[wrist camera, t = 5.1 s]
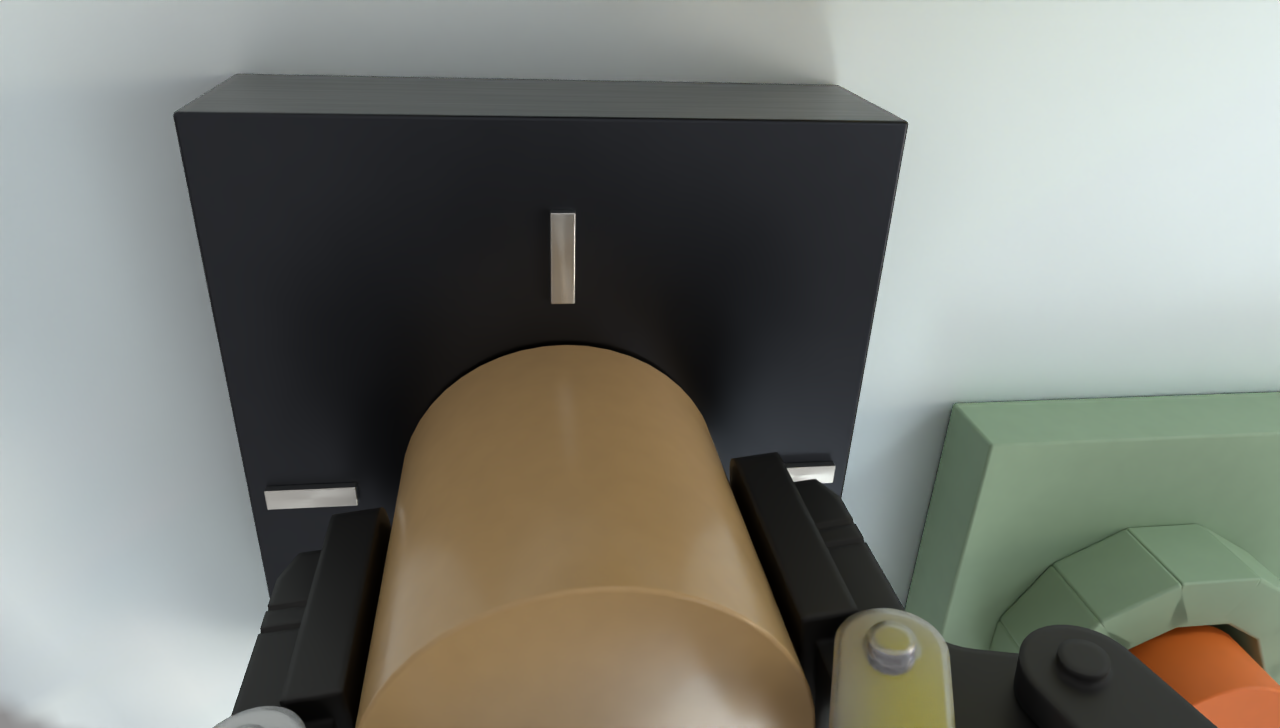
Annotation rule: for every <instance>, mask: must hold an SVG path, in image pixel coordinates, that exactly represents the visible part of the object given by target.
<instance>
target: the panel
mask: <svg viewBox="0 0 1280 728" xmlns="http://www.w3.org/2000/svg"><path fill="white" fill-rule="evenodd" d="M173 117H174V122H175V127H176V132H177V137H178V142H179V147H180V152H181V157H182V162H183V167H184V172H185V177H186V182H187V187H188V192H189V197H190V202H191V207H192V212H193V217H194V222H195V227H196V232H197V237H198V242H199V247H200V252H201V257H202V262H203V267H204V272H205V277H206V282H207V287H208V292H209V297H210V302H211V307H212V312H213V317H214V322H215V327H216V332H217V337H218V342H219V347H220V352H221V357H222V362H223V367H224V372H225V377H226V382H227V387H228V392H229V397H230V402H231V407H232V412H233V417H234V422H235V427H236V432H237V437H238V442H239V447H240V452H241V457H242V462H243V467H244V472H245V477H246V482H247V487H248V492H249V497H250V502H251V507H252V512H253V517H254V522H255V526H256V531H257V536H258V541H259V546H260V551H261V556H262V561H263V566H264V571H265V576H266V581H267V586H268V591H269V596H270V598H271V595H272V592H273V589H274V586H275V583H276V580H277V578H278V577H279V576H280V575H281V574H282V572H283V571H284V570H285V569H286V568H287V567H288V565H289V564H290V563H291V562H292V561H293V560H294V558H295V557H296V556H297V555H298V554H299V553H303V552H310V551H316V550H322V546H323V543H324V539H325V535H326V532H327V528H328V525H329V521H330V518H331V516H332V515H333V514H338V513H345V512H352V511H359V510H366V509H373V508H380V507H383V508H384V509H385V510H386V512H387V514H388V517H389V521H390V524H391V528H392V523H393V518H394V512H395V507H396V501H397V496H398V490H399V485H400V479H401V474H402V468H403V463H404V457H405V453H406V450H407V447H408V444H409V441H410V439H411V436H412V434H413V432H414V431H415V429H416V427H417V425H418V423H419V421H420V420H421V418H422V417H423V415H424V414H425V413H426V411H427V410H428V408H429V407H430V406H431V404H432V403H433V402H434V401H435V400H436V399H437V398H438V397H439V396H440V395H441V394H442V393H443V392H444V391H445V390H446V389H447V388H449V387H450V386H451V385H452V384H454V383H455V382H456V381H458V380H459V379H460V378H461V377H463V376H465V375H466V374H468V373H469V372H471V371H473V370H474V369H476V368H478V367H479V366H481V365H483V364H486V363H488V362H490V361H492V360H495V359H497V358H499V357H502V356H505V355H508V354H511V353H515V352H518V351H521V350H526V349H532V348H537V347H543V346H556V345H578V346H591V347H596V348H602V349H608V350H612V351H615V352H618V353H622V354H625V355H628V356H631V357H633V358H635V359H638V360H640V361H642V362H644V363H646V364H649V365H650V366H652V367H654V368H655V369H657V370H658V371H660V372H662V373H663V374H665V375H666V376H667V377H669V378H670V379H671V380H672V381H673V382H675V383H676V384H677V385H678V386H679V387H681V389H682V390H683V391H684V392H685V393H686V394H687V395H688V396H689V397H690V399H691V400H692V401H693V402H694V404H695V405H696V407H697V408H698V410H699V411H700V413H701V414H702V416H703V418H704V420H705V423H706V425H707V427H708V429H709V431H710V434H711V436H712V439H713V442H714V444H715V447H716V449H717V452H718V454H719V457H720V459H721V462H722V464H723V467H724V470H725V472H726V475H727V477H728V480H729V482H730V473H729V468H730V460H731V458H738V457H745V456H752V455H759V454H766V453H773V452H777V453H779V454H780V456H781V458H782V460H783V462H784V464H785V466H786V468H787V470H788V472H789V474H790V476H791V478H792V480H793V482H796V481H803V480H810V479H817V480H818V481H819V482H821V483H822V484H823V485H825V486H826V487H828V488H829V489H830V490H832V491H833V492H834V493H836V494H837V495H838V496H840V498H841V497H842V491H843V486H844V480H845V475H846V469H847V463H848V458H849V452H850V447H851V441H852V435H853V430H854V424H855V419H856V413H857V407H858V402H859V396H860V391H861V385H862V379H863V374H864V368H865V363H866V357H867V351H868V346H869V340H870V335H871V329H872V323H873V318H874V312H875V307H876V301H877V296H878V290H879V284H880V279H881V273H882V268H883V262H884V256H885V251H886V245H887V240H888V234H889V228H890V223H891V217H892V212H893V206H894V200H895V195H896V189H897V184H898V178H899V172H900V167H901V161H902V156H903V150H904V144H905V139H906V133H907V128H908V122H907V121H905V120H903V119H901V118H899V117H897V116H895V115H893V114H892V113H890V112H888V111H886V110H884V109H882V108H880V107H878V106H876V105H875V104H873V103H871V102H869V101H867V100H865V99H863V98H861V97H859V96H858V95H856V94H854V93H852V92H850V91H848V90H846V89H844V88H842V87H840V86H839V85H804V84H750V83H697V82H644V81H591V80H538V79H484V78H431V77H378V76H325V75H271V74H236V75H234V76H232V77H231V78H229V79H227V80H226V81H224V82H222V83H221V84H219V85H218V86H216V87H214V88H213V89H211V90H210V91H208V92H206V93H205V94H203V95H201V96H200V97H198V98H197V99H195V100H193V101H192V102H190V103H188V104H187V105H185V106H184V107H182V108H180V109H179V110H177V111H175V112H174V114H173Z"/></svg>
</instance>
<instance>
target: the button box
mask: <svg viewBox="0 0 1280 728" xmlns="http://www.w3.org/2000/svg"><path fill="white" fill-rule="evenodd" d="M905 611H906V612H909V613H911V614H914V615H916V616H918V617H920V618H922V619H924V620H925V621H927V622H928V623H930V624H931V625H932V626H933V627H935V629H936V630H937V631H938V632H939V633H940V634H941V635H942V637H943V638H944V640H945V642H948V643H950V644H953V645H957V646H961V647H965V648H972V649H980V650H990V651H999V652H1009V653H1019V650H1020V646H1021V644H1022V641H1023V640H1024V639H1025V638H1026V636H1027V635H1029V634H1030V633H1031V632H1032V631H1035V630H1037V629H1039V628H1042V627H1045V626H1050V625H1074V626H1080V627H1084V628H1088V629H1091V630H1094V631H1097V632H1100V633H1102V634H1104V635H1106V636H1108V637H1110V638H1112V639H1113V640H1115V641H1117V642H1118V643H1120V644H1121V645H1122V646H1124V647H1125V648H1126V649H1128V650H1129V649H1131V648H1133V647H1135V646H1137V645H1140V644H1142V643H1144V642H1146V641H1148V640H1150V639H1153V638H1155V637H1157V636H1159V635H1161V634H1163V633H1166V632H1168V631H1170V630H1172V629H1174V628H1178V627H1191V626H1204V625H1208V626H1213V627H1215V628H1218V629H1220V630H1222V631H1224V632H1226V633H1227V634H1229V635H1230V636H1231V637H1232V638H1233V639H1234V640H1235V641H1236V642H1237V643H1238V644H1239V645H1240V646H1241V647H1242V648H1243V649H1244V650H1245V651H1246V652H1247V653H1248V654H1249V655H1250V656H1251V657H1252V658H1253V659H1254V660H1255V661H1256V662H1257V663H1258V664H1259V665H1260V666H1261V667H1262V668H1263V669H1264V670H1265V671H1266V672H1267V673H1268V674H1269V675H1270V676H1271V677H1272V678H1273V679H1274V680H1275V681H1276V682H1277V683H1278V684H1279V685H1280V392H1262V393H1234V394H1205V395H1177V396H1149V397H1120V398H1092V399H1063V400H1035V401H1007V402H978V403H955V404H954V405H953V408H952V412H951V416H950V421H949V425H948V429H947V433H946V438H945V442H944V446H943V450H942V454H941V459H940V463H939V467H938V471H937V476H936V480H935V484H934V488H933V493H932V497H931V501H930V505H929V509H928V514H927V518H926V522H925V526H924V531H923V535H922V539H921V543H920V548H919V552H918V556H917V560H916V564H915V569H914V573H913V577H912V581H911V586H910V590H909V594H908V598H907V603H906V607H905Z"/></svg>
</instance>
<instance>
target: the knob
mask: <svg viewBox="0 0 1280 728" xmlns="http://www.w3.org/2000/svg"><path fill="white" fill-rule="evenodd" d="M355 728H816V720H815V706H814V702H813V698H812V694H811V690H810V686H809V684H808V681H807V678H806V676H805V673H804V671H803V668H802V666H801V663H800V661H799V658H798V656H797V653H796V650H795V648H794V645H793V643H792V640H791V638H790V635H789V633H788V630H787V628H786V625H785V622H784V620H783V617H782V615H781V612H780V610H779V607H778V605H777V602H776V599H775V597H774V594H773V592H772V589H771V587H770V584H769V582H768V579H767V577H766V574H765V571H764V569H763V566H762V564H761V561H760V559H759V556H758V554H757V551H756V549H755V546H754V543H753V541H752V538H751V536H750V533H749V531H748V528H747V526H746V523H745V521H744V518H743V515H742V513H741V510H740V508H739V505H738V503H737V500H736V498H735V495H734V492H733V490H732V487H731V485H730V482H729V480H728V477H727V475H726V472H725V470H724V467H723V464H722V462H721V459H720V457H719V454H718V452H717V449H716V447H715V444H714V442H713V439H712V436H711V434H710V431H709V429H708V427H707V425H706V423H705V420H704V418H703V416H702V414H701V413H700V411H699V410H698V408H697V407H696V405H695V404H694V402H693V401H692V400H691V399H690V397H689V396H688V395H687V394H686V393H685V392H684V391H683V390H682V389H681V387H679V386H678V385H677V384H676V383H675V382H673V381H672V380H671V379H670V378H669V377H667V376H666V375H665V374H663V373H662V372H660V371H658V370H657V369H655V368H654V367H652V366H650V365H649V364H646V363H644V362H642V361H640V360H638V359H635V358H633V357H631V356H628V355H625V354H622V353H618V352H615V351H612V350H608V349H602V348H596V347H591V346H578V345H556V346H543V347H537V348H532V349H526V350H521V351H518V352H515V353H511V354H508V355H505V356H502V357H499V358H497V359H495V360H492V361H490V362H488V363H486V364H483V365H481V366H479V367H478V368H476V369H474V370H473V371H471V372H469V373H468V374H466V375H465V376H463V377H461V378H460V379H459V380H458V381H456V382H455V383H454V384H452V385H451V386H450V387H449V388H447V389H446V390H445V391H444V392H443V393H442V394H441V395H440V396H439V397H438V398H437V399H436V400H435V401H434V402H433V403H432V404H431V406H430V407H429V408H428V410H427V411H426V413H425V414H424V415H423V417H422V418H421V420H420V421H419V423H418V425H417V427H416V429H415V431H414V432H413V434H412V436H411V439H410V441H409V444H408V447H407V450H406V453H405V457H404V463H403V468H402V474H401V479H400V485H399V490H398V496H397V501H396V507H395V512H394V518H393V523H392V529H391V534H390V540H389V545H388V551H387V556H386V562H385V567H384V573H383V578H382V584H381V589H380V595H379V600H378V606H377V611H376V617H375V622H374V628H373V633H372V639H371V644H370V650H369V655H368V661H367V666H366V672H365V677H364V683H363V688H362V693H361V699H360V704H359V710H358V715H357V721H356V726H355Z"/></svg>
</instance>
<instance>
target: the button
mask: <svg viewBox="0 0 1280 728" xmlns="http://www.w3.org/2000/svg"><path fill="white" fill-rule="evenodd" d="M1129 651H1130V652H1131V653H1132V654H1133V655H1134V656H1136V657H1137V658H1138V659H1139V660H1140V661H1141V662H1143V663H1144V664H1145V665H1146V666H1147V667H1148V668H1150V669H1151V670H1152V671H1153V672H1154V673H1155V674H1156V675H1158V676H1159V677H1160V678H1161V679H1162V680H1163V681H1165V682H1166V683H1167V684H1168V685H1169V686H1170V687H1172V688H1173V689H1174V690H1175V691H1176V692H1177V693H1178V694H1180V695H1181V696H1182V697H1183V698H1184V699H1185V700H1187V701H1188V702H1189V703H1190V704H1191V705H1192V706H1194V707H1195V708H1196V709H1197V710H1198V711H1199V712H1200V713H1202V714H1203V715H1204V716H1205V717H1206V718H1207V719H1209V720H1210V721H1211V722H1212V723H1213V724H1214V725H1216V726H1217V727H1218V728H1280V685H1279V684H1278V683H1277V682H1276V681H1275V680H1274V679H1273V678H1272V677H1271V676H1270V675H1269V674H1268V673H1267V672H1266V671H1265V670H1264V669H1263V668H1262V667H1261V666H1260V665H1259V664H1258V663H1257V662H1256V661H1255V660H1254V659H1253V658H1252V657H1251V656H1250V655H1249V654H1248V653H1247V652H1246V651H1245V650H1244V649H1243V648H1242V647H1241V646H1240V645H1239V644H1238V643H1237V642H1236V641H1235V640H1234V639H1233V638H1232V637H1231V636H1230V635H1229V634H1227V633H1226V632H1224V631H1222V630H1220V629H1218V628H1215V627H1213V626H1208V625H1204V626H1191V627H1178V628H1174V629H1172V630H1170V631H1168V632H1166V633H1163V634H1161V635H1159V636H1157V637H1155V638H1153V639H1150V640H1148V641H1146V642H1144V643H1142V644H1140V645H1137V646H1135V647H1133V648H1131V649H1129Z"/></svg>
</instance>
